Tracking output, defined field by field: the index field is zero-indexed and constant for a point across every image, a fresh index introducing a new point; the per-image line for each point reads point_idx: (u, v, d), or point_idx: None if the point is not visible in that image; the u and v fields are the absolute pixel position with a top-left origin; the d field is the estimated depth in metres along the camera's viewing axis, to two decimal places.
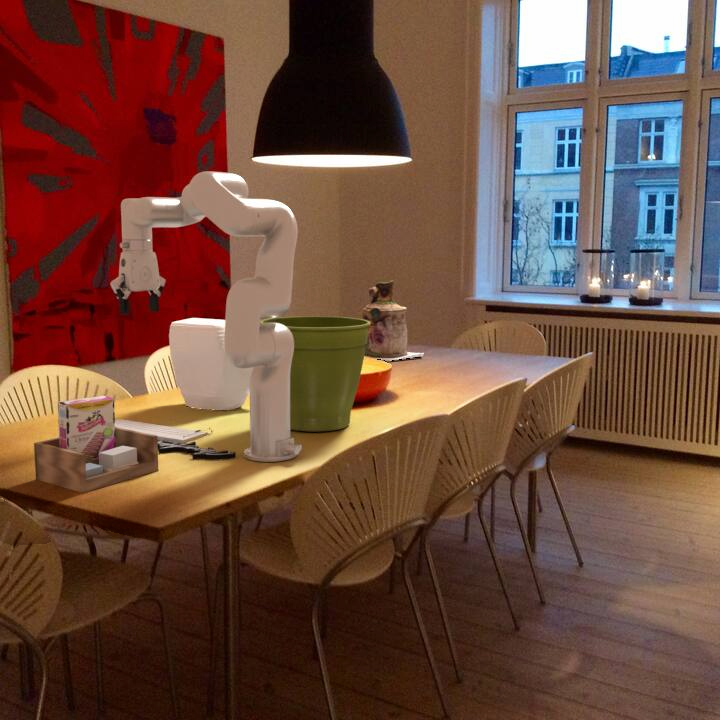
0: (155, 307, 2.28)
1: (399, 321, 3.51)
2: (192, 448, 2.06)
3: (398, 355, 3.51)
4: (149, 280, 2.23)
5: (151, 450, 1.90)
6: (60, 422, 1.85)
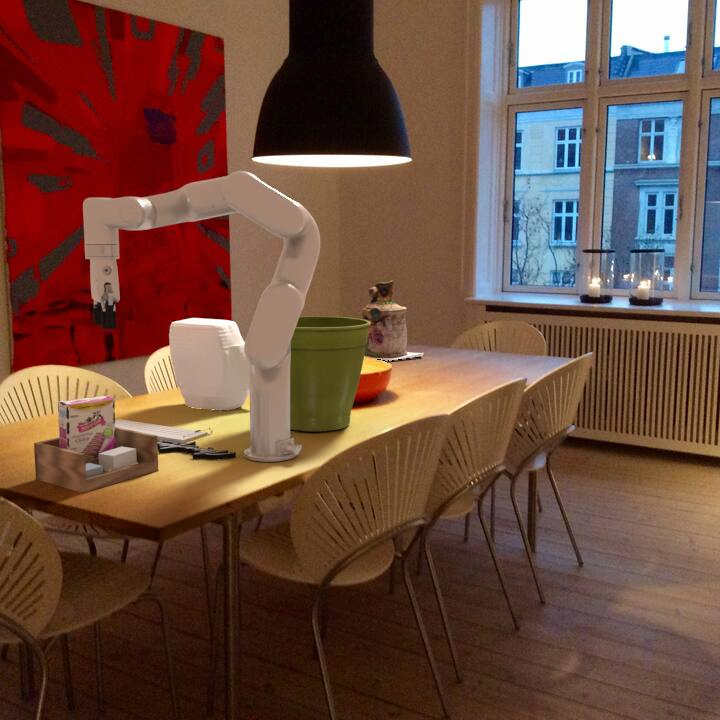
0: None
1: (399, 321, 3.51)
2: (192, 448, 2.06)
3: (398, 355, 3.51)
4: None
5: (151, 450, 1.90)
6: (60, 422, 1.85)
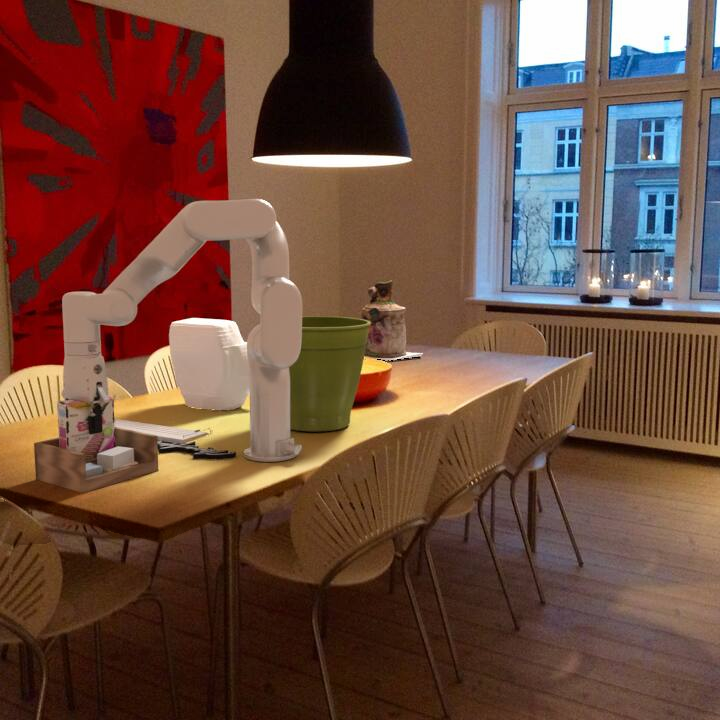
0: None
1: (398, 321, 3.51)
2: (192, 448, 2.06)
3: (397, 355, 3.51)
4: None
5: (151, 450, 1.90)
6: (60, 422, 1.85)
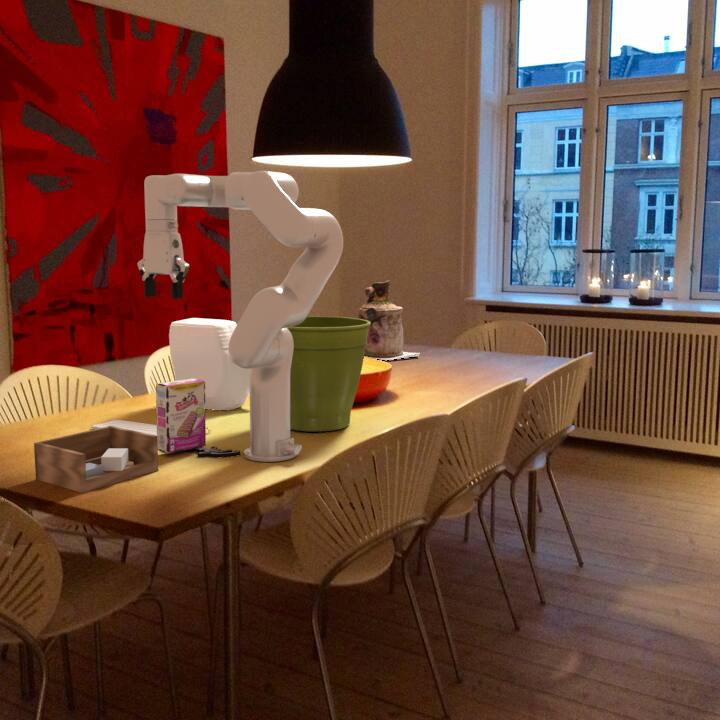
0: (154, 291, 2.15)
1: (395, 321, 3.51)
2: None
3: (394, 355, 3.51)
4: None
5: (151, 450, 1.90)
6: (158, 402, 2.02)
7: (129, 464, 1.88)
